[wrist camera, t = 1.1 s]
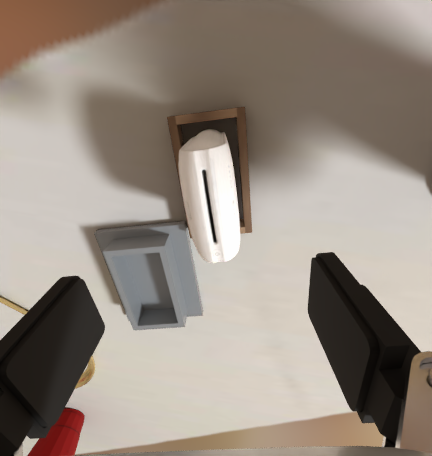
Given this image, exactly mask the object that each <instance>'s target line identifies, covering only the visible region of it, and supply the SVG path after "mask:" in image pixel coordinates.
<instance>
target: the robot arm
mask: <svg viewBox="0 0 432 456" xmlns="http://www.w3.org/2000/svg"><path fill="white" fill-rule="evenodd" d="M308 314H309V317H310V320H311V322H312V324H313V326H314V329H315V331H316V333H317V335H318V338H319V340H320V342H321V344H322V347H323V349H324V351H325V353H326V356H327V358H328V360H329V362H330V365H331V367H332V369H333V371H334V374H335V376H336V378H337V381H338V383H339V385H340V387H341V390H342V392H343V394H344V396H345V399H346V401H347V403H348V405H349V407H350V409H351V410H352V411H357V413H358V415H359V417H360V419H361V421H362V423H375V424H376V426H377V428H378V430H379V432H380V433H381V434H382V435H383V436H384V438H383V444H382V447H370V446H325V447H281V448H280V447H279V448H250V449H222V450H195V451H170V452H145V453H120V454H97V455H74V456H432V352H430V351H427V352H421V351H420V350H419V349H418V348H417V347H416V345H415V344H414V343H413V342H412V341H411V339H410V338H409V337H408V336H407V335H406V334H405V332H404V331H403V330H402V329H401V328H400V326H399V325H398V324H397V323H396V322H395V321H394V319H393V318H392V317H391V316H390V315H389V313H388V312H387V311H386V310H385V309H384V308H383V306H382V305H381V304H380V303H379V302H378V300H377V299H376V298H375V297H374V296H373V295H372V293H371V292H370V291H369V290H368V289H367V288H366V287H365V286H363V285H360V284H359V283H358V281H357V280H356V279H355V278H354V276H353V275H352V274H351V273H350V272H349V270H348V269H347V268H346V267H345V266H344V264H343V263H342V262H341V261H340V259H339V258H338V257H337V256H336V255H335V254H334V253H333V252H330V253H319V254H317V255H316V258H312V261H311V273H310V286H309V300H308ZM104 330H105V325H104V322H103V320H102V318H101V316H100V314H99V312H98V309H97V307H96V305H95V303H94V301H93V299H92V297H91V294H90V292H89V290H88V288H87V286H86V284H85V282H84V280H83V279H80V277H78V276H68V277H62V278H60V279H59V280H58V281H57V282H56V283H55V284H54V285H53V286H52V287H51V288H50V289H49V290H48V291H47V293H46V294H45V295H44V296H43V297H42V298H41V299H40V300H39V301H38V302H37V303H36V304H35V305H34V306H33V307H32V308H31V309H30V310H29V311H28V312H27V313H26V314H25V315H24V316H23V317H22V319H21V320H20V321H19V322H18V323H17V324H16V325H15V326H14V327H13V328H12V329H11V330H10V331H9V332H8V333H7V334H6V335H5V336H4V337H3V338H2V339H1V340H0V456H23V446H22V442H23V441H24V439H25V437H26V436H28V437H29V438H30V439H33V438H46V436H47V434H48V432H49V430H50V429H51V427H52V426H53V425H55V423H56V422H57V421H58V419H59V417H60V416H61V414H62V412H63V410H64V408H65V406H66V404H67V402H68V400H69V398H70V396H71V395H72V393H73V391H74V389H75V387H76V385H77V383H78V381H79V379H80V377H81V375H82V374H83V372H84V370H85V368H86V366H87V364H88V362H89V360H90V358H91V356H92V354H93V353H94V351H95V349H96V347H97V345H98V343H99V341H100V339H101V337H102V335H103V333H104Z"/></svg>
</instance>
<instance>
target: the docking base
mask: <svg viewBox="0 0 432 456" xmlns="http://www.w3.org/2000/svg"><path fill="white" fill-rule="evenodd" d="M94 234H95V237H96V239H97V242H98V244H99V247H100V249H101V252H102V254H103V257H104V259H105V262H106V264H107V267H108V270H109V272H110V275H111V277H112V280H113V282H114V285H115V287H116V290H117V292H118V295H119V297H120V300H121V302H122V305H123V307H124V310H125V312H126V315H127V317H128V320H129V321H130V322H131V325H132V327H133V330H146V329H160V328H175V327H185V323H186V317H188V316H202V315H203V308H202V303H201V298H200V293H199V288H198V282H197V277H196V272H195V267H194V262H193V257H192V251H191V246H190V241H189V236H188V231H187V226H186V221H180V222H170V223H160V224H150V225H140V226H130V227H120V228H110V229H100V230H97V231H96V232H95V233H94Z"/></svg>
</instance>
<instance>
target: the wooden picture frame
mask: <svg viewBox="0 0 432 456" xmlns="http://www.w3.org/2000/svg"><path fill="white" fill-rule="evenodd" d="M233 117H236V126H237V140H238V154H239V168H240V181H241V195H242V209H243V219H239V221H240V234H241V233H251V232H252V223H251V205H250V187H249V169H248V152H247V134H246V116H245V107H238V108H231V109H223V110H216V111H208V112H201V113H193V114H186V115H178V116H170V117H167V120H168V125H169V130H170V135H171V141H172V146H173V151H174V156H175V161H176V167H177V172H178V177H179V182H180V176H179V167H178V163H179V150H180V149H181V148H182V147H183V146H184V141H183V135H182V129H181V124H187V123H194V122H202V121H210V120H217V119H225V118H233ZM180 188H181V183H180ZM181 193H182V190H181ZM182 198H183V196H182ZM183 203H184V201H183ZM184 208H185V206H184ZM185 214H186V211H185ZM186 219H187V216H186ZM187 224H188V220H187ZM188 229H189V235H190V238H192V236H191V232H190V228H189V224H188Z"/></svg>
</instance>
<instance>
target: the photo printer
mask: <svg viewBox="0 0 432 456" xmlns="http://www.w3.org/2000/svg"><path fill="white" fill-rule="evenodd" d="M178 167H179V176H180V183H181V190H182V196H183V201H184V206H185V211H186V216H187V220H188V224H189V228H190V232H191V236H192V239H193V242H194V244H195V247H196V249H197V251H198V253H199V254H200V256H201V257H202V258H203V259H204V260H205V261H207V262H209V263H215V262H220V261H222V262H226V261H229V260H230V259H232V258H233V257H234V256H235V255H236V254H237V253H238V250H239V246H240V221H239V210H238V200H237V191H236V183H235V176H234V169H233V162H232V157H231V153H230V148H229V144H228V141H227V137H226V134H225V132H222V133H221V132H219V131H217V130H214V129H206V130H203V131H201V132H200V133H199V134H198V135H197V136H193V137H192V138H191V139H190V140H189V141H188V142H187V143H186V144H185V145H184V146H183V147H182V148H181V149H180V150H179V163H178Z"/></svg>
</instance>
